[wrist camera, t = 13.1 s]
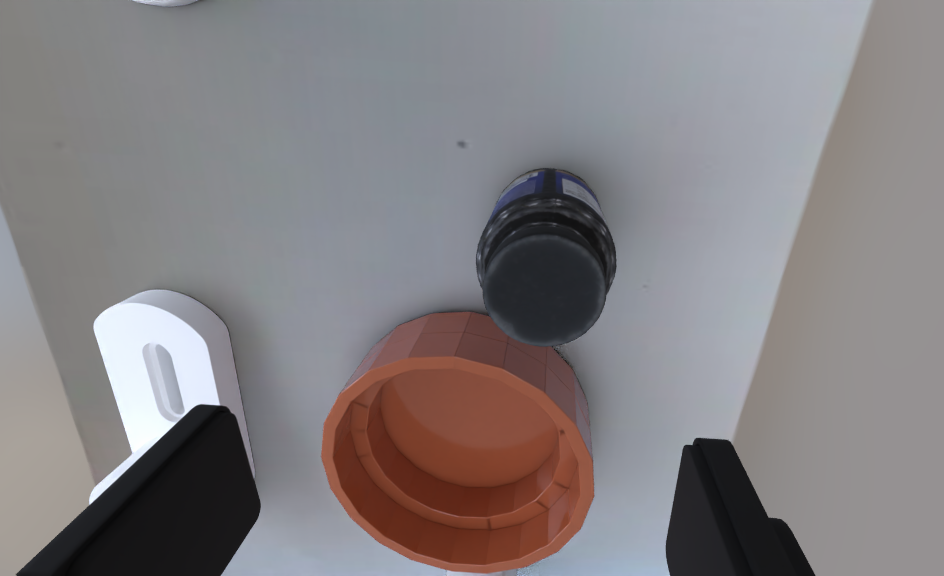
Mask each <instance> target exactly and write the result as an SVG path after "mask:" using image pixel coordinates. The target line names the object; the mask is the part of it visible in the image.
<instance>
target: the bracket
mask: <svg viewBox="0 0 944 576" xmlns="http://www.w3.org/2000/svg"><path fill="white" fill-rule="evenodd" d="M94 332H95V335H96V338H97V341H98V344H99V348H100V351H101V354H102V357H103V360H104V363H105V367H106V370H107V373H108V376H109V379H110V383H111V386H112V389H113V392H114V395H115V398H116V402H117V405H118V408H119V411H120V414H121V417H122V421H123V424H124V427H125V430H126V433H127V436H128V440H129V443H130V446H131V449H132V452H133V454H132V455H131V456H130V457H129V458H128V459H126V460H125V461H124V462H123V463H122V464H121V465H120V466H118V467H117V468H116V469H115V470H114V471H113V472H112V473H110V474H109V475H108V476H107V477H106V478H105V479H104V480H102V481H101V482H100V483H99V484H98V485H97V486H96V487H95V488H94V489H93V491H92V493H91V495H90V499H89V505H90V504H91V503H92V502H93V501H94V500H95V499H97V498H98V497H99V496H100V495H101V494H102V493H103V492H104V491H105V490H106V489H107V488H108V487H109V486H110V485H111V484H112V483H113V482H115V481H116V480H117V479H118V478H119V477H120V476H121V475H122V474H123V473H124V472H125V471H126V470H127V469H128V468H129V467H130V466H132V465H133V464H134V463H135V462H136V461H137V460H138V459H139V458H140V457H141V456H142V455H143V454H144V453H145V452H146V451H147V450H149V449H150V448H151V447H152V446H153V445H154V444H155V443H156V442H157V441H158V440H159V439H160V438H161V437H162V436H163V435H164V434H166V433H167V432H168V431H169V430H170V429H171V428H172V427H173V426H174V425H175V424H176V423H177V422H178V421H179V420H180V419H181V418H183V417H184V416H185V415H186V414H187V413H188V412H189V411H190V410H191V409H192V408H193V407H195V406H196V405H199V404H207V405H222V406H227V407H228V408H229V409H230V412H231V413H233V414H234V415H235V416H236V418H237V421H238V425H239V428H240V432H241V435H242V439H243V442H244V446H245V449H246V453H247V457H248V460H249V464H250V467H251V471H252V474H253V478H254V479H255V468H254V463H253V458H252V452H251V447H250V442H249V437H248V431H247V426H246V421H245V416H244V410H243V405H242V400H241V395H240V389H239V384H238V379H237V374H236V368H235V363H234V358H233V353H232V347H231V342H230V337H229V332H228V329H227V327H226V325H225V324H224V322H223V321H222V320H221V319H220V318H219V317H218V316H217V315H216V314H215V313H214V312H212V311H211V310H210V309H209V308H207V307H206V306H205V305H203V304H202V303H200V302H198V301H197V300H195V299H193V298H191V297H189V296H186V295H184V294H181V293H178V292H174V291H169V290H158V289H157V290H148V291H144V292H141V293H138V294H136V295H134V296H132V297H130V298H128V299H126V300H124V301H122V302H120V303H118V304H116V305H114V306H112V307H110V308H108V309H107V310H105V311H104V312H102V313H101V314H100V315H99V316H98V318H97V319H96V320H95V322H94Z"/></svg>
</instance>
